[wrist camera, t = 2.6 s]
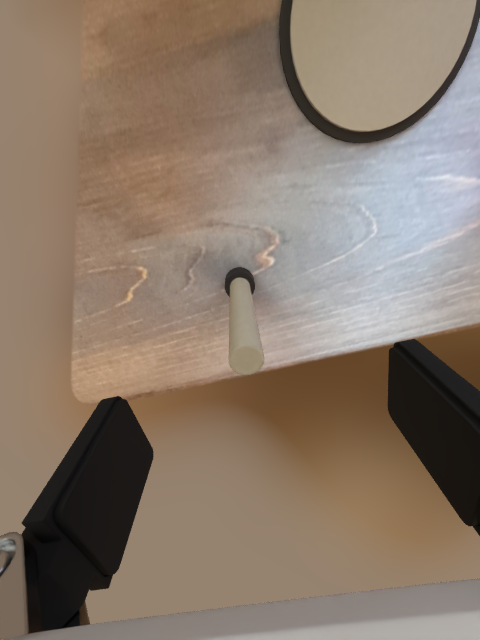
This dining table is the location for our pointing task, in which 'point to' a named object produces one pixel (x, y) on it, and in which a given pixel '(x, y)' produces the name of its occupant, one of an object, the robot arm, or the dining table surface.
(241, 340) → the pen
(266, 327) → the dining table surface
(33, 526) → the robot arm
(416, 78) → the beige coaster disc
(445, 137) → the dining table surface
